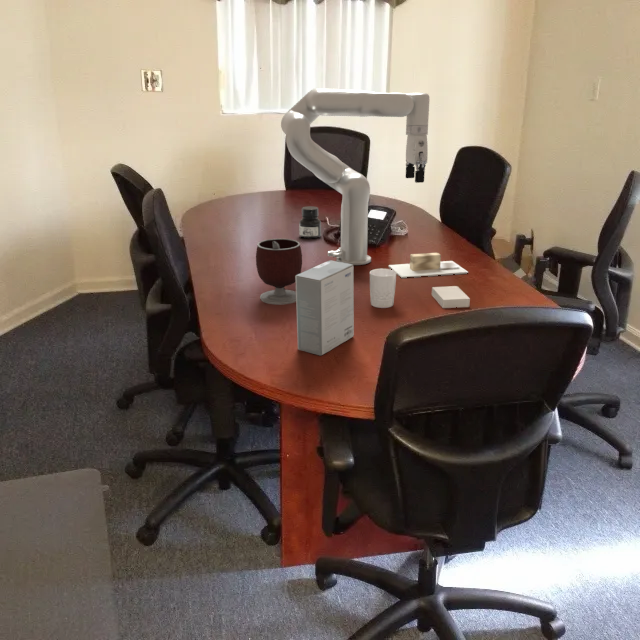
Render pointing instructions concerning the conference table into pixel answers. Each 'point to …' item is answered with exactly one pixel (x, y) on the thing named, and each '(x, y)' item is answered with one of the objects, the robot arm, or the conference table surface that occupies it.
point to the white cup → (382, 287)
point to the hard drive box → (325, 306)
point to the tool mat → (424, 271)
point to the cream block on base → (429, 262)
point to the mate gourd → (278, 268)
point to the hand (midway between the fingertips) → (414, 180)
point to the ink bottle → (310, 223)
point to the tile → (450, 297)
